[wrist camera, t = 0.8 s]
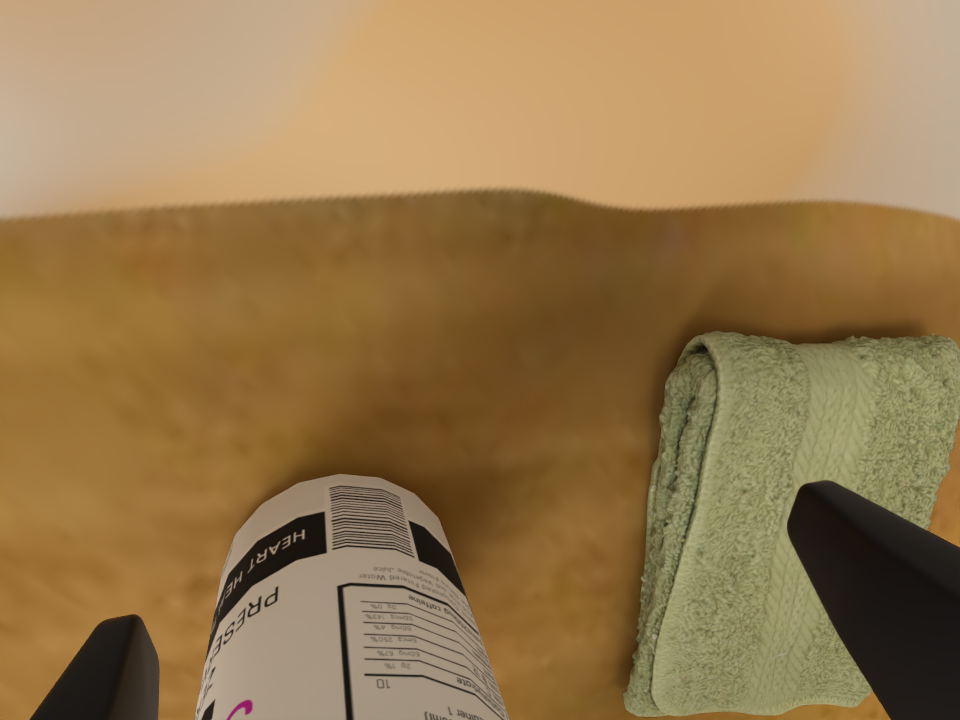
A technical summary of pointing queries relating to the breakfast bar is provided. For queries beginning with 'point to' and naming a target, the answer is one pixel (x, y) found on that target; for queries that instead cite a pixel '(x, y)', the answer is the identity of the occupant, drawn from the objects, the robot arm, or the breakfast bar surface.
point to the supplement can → (345, 614)
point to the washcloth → (774, 509)
